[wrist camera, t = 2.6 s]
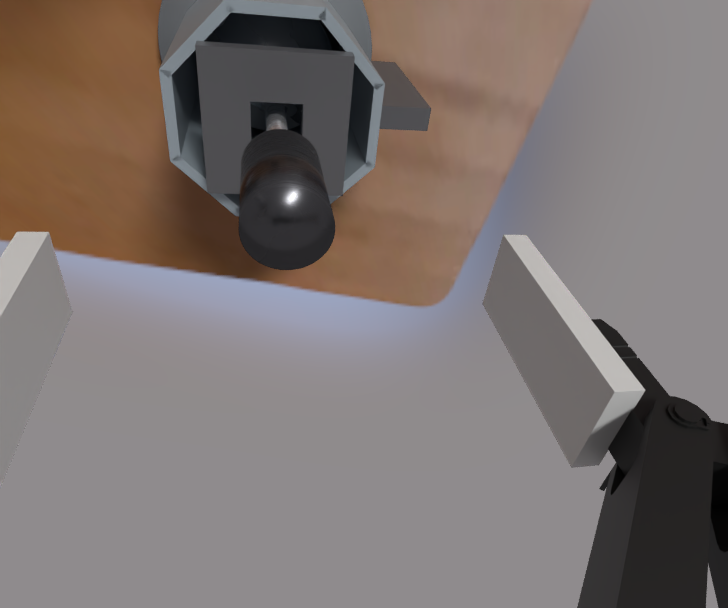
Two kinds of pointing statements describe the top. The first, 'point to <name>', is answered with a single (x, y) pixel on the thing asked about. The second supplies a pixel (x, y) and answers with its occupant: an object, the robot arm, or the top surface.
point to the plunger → (280, 158)
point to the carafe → (278, 96)
